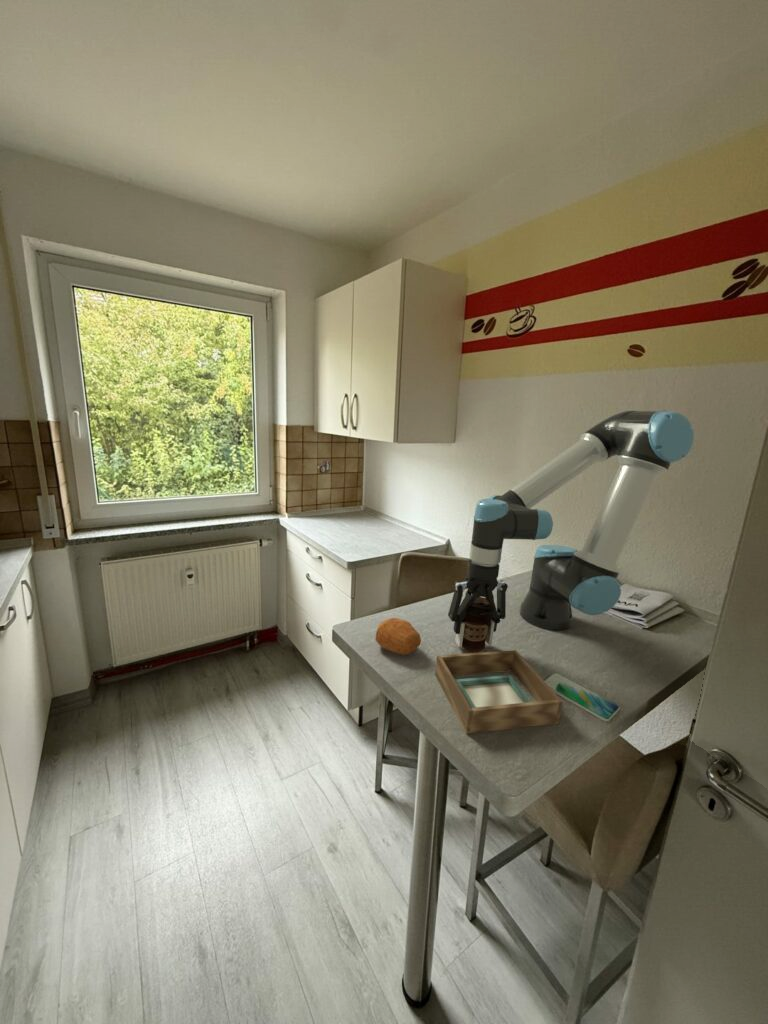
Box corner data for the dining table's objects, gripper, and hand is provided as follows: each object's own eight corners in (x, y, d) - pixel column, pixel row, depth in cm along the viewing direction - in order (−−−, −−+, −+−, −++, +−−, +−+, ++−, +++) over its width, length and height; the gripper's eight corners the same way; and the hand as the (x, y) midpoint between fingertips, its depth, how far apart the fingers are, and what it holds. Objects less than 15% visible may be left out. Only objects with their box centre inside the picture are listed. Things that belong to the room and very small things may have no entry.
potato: (394, 634, 111) (396, 609, 109) (426, 652, 103) (429, 626, 101) (370, 646, 104) (371, 619, 102) (402, 667, 97) (405, 638, 95)
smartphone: (554, 671, 98) (621, 706, 88) (553, 674, 99) (620, 710, 88) (539, 682, 94) (607, 720, 83) (538, 685, 94) (606, 724, 83)
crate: (512, 668, 99) (515, 650, 98) (558, 723, 82) (562, 701, 81) (434, 674, 94) (437, 655, 93) (466, 733, 77) (469, 711, 76)
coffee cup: (489, 659, 102) (496, 612, 99) (456, 653, 104) (462, 606, 100) (488, 640, 110) (494, 597, 107) (457, 635, 112) (462, 592, 109)
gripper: (513, 555, 107) (501, 633, 113) (440, 556, 103) (431, 637, 108) (529, 566, 100) (515, 648, 105) (451, 567, 95) (441, 653, 101)
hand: (473, 642), depth 107 cm, fingers closed on coffee cup, 8 cm apart
